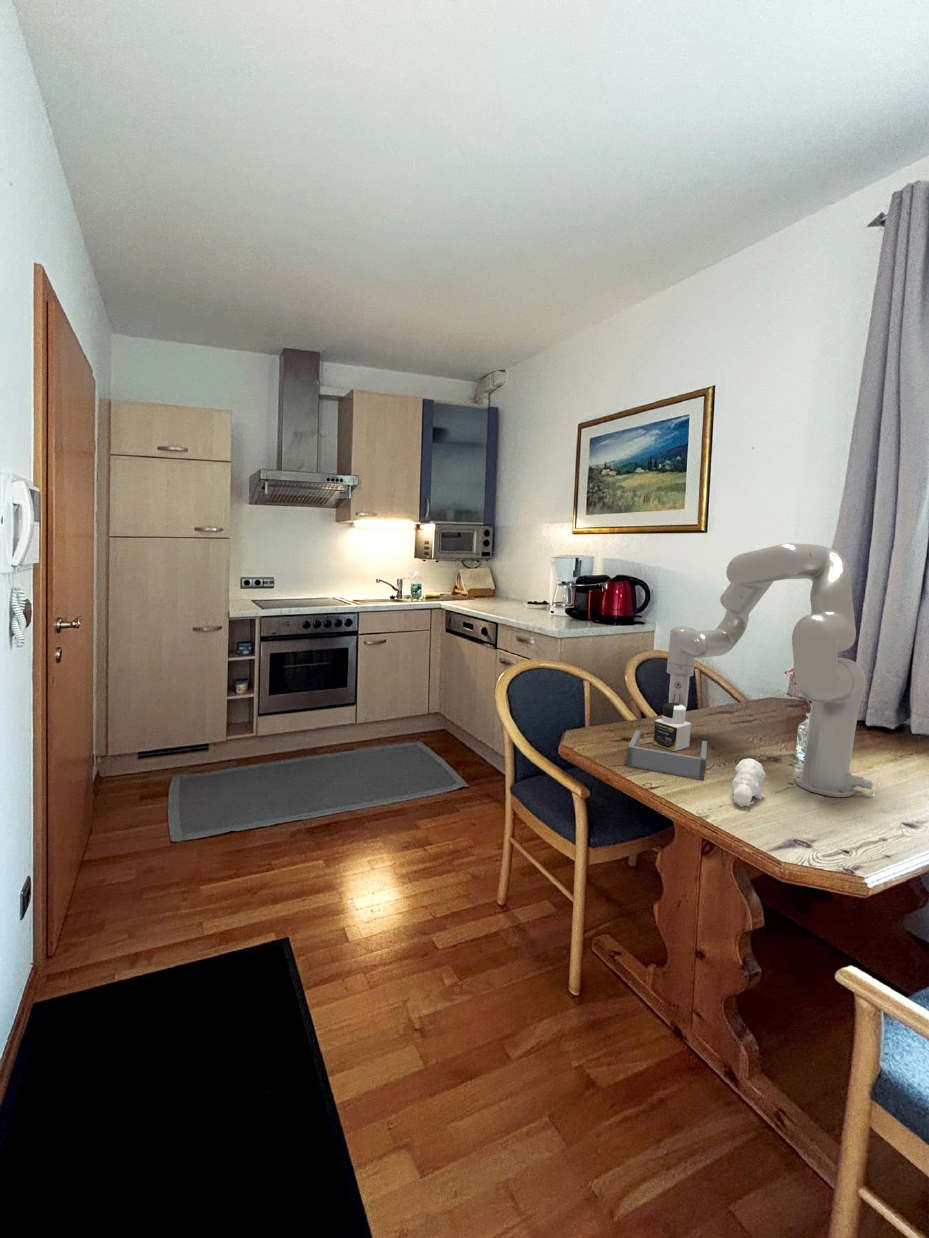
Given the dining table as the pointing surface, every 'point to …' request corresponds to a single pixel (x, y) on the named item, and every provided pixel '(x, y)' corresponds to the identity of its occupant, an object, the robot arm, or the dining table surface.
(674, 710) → the medicine bottle
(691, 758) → the box
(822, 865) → the dining table surface
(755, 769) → the white animal figurine
